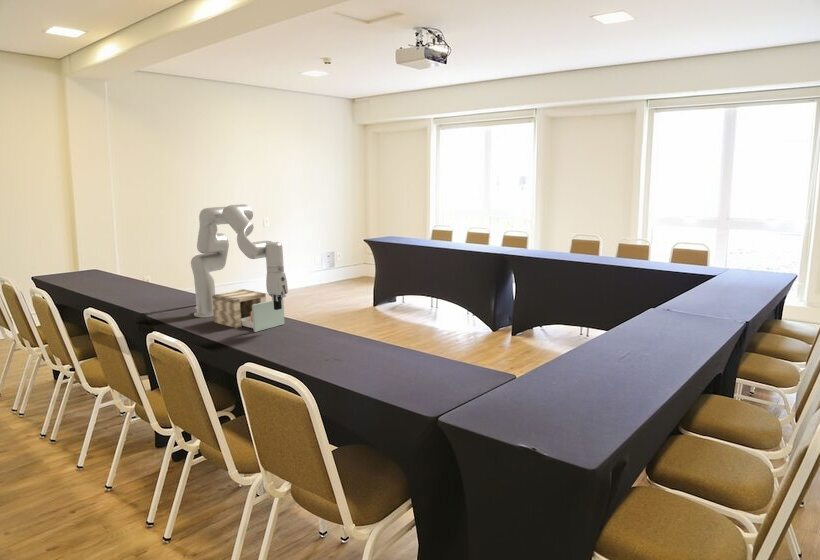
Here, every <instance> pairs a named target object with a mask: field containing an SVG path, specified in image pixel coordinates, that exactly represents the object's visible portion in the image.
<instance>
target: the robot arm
mask: <svg viewBox="0 0 820 560" xmlns="http://www.w3.org/2000/svg"><path fill="white" fill-rule="evenodd" d="M253 218H254V211H253V209H252V207H250V205H248V204H244V203H243V204H230V205H227V206H215V207H205V208H203V209H202V210H200V212H199V216H198V220H199V228H198V230H199V231H198V235H197V242H196V249H197V251H198V252H199V253H200V254H197V255H195V256H193V257H192V258H191V260H190V266H191V267H190V268H191V270H192V275H193V281H194V282H193V283H194V289H195V290H194V291H195V302H196V306H194V309H195V310H196V312H194V313H193V316H194V317H196V318H210V317H213V318H214V314H213V302H212V295H216V287H215V280H214V277H213V276H212V275H211V274H210V273H211V272H216V271H221V270H223V269H224V268H225V267H226V263H227V259H228V258H227V257H228V254H229V248H230V247H229V246H230V243H229V238H228V237H227V236H226V235H225V234H224V233H220V232H218V225H229V226H230V227H231V228H232V230H233V231H234V232H235V233H236V234H237V236H236V242H237V247H238V249H239V250H240V251H241V252H242V253H243V254H244V255H245V257H247V258H248V259H250V260H257V259H263V258H265V260H266V261H265V263H266V284H265V285H266V293H268V296H270V297H271V299H272V300H273V302H274V310H279V309H282V304H281V300H282V298H283V299H285V298H286V297H287V295H286V294H288V293H289V287H288V280H287V275H286V272H285V268H284V267H285V266H284V251H283V244H282V243H281V242H279V241H277V242H275V241H271V240H262V241H261V240H260V241H253V242H252V241H250V239H249V238H248V237H249V236H250V234H252V233H253V231H254V227H255V226H254V224H253V222H252V221H251V220H252V219H253ZM272 300H271V301H272Z"/></svg>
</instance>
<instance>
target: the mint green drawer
mask: <svg viewBox="0 0 820 560" xmlns="http://www.w3.org/2000/svg"><path fill="white" fill-rule="evenodd" d="M281 304H282V309H279V310H274V302H273V300H268V301H267V300H266V302H263V303H258V304H254V305H252V314H253V322H251V316H249V317H241V326H243V327H246V328H251V329H253V332H255V333H257V332H261V331H263V330H268V329H272V328H275V327H278V326H282V325H284V324H285V308H284V298H282V300H281Z"/></svg>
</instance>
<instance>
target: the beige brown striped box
mask: <svg viewBox="0 0 820 560" xmlns="http://www.w3.org/2000/svg"><path fill="white" fill-rule="evenodd" d="M266 293H267V292H259V291H255V290H249V289H244V288H243V289H242V288H241V289H238V290H234V291H233V290H231V291H227V292H222V293H217V294H216V293H215V295H212V302H213V314H214V316H213V323H215V324H220V325H223V326H227V327H230V328H235V329H238V328H242V325H241V318H245V317H249V316H251V313H250V312H252V305H254V304H258V303H263V302H267V297H266Z"/></svg>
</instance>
